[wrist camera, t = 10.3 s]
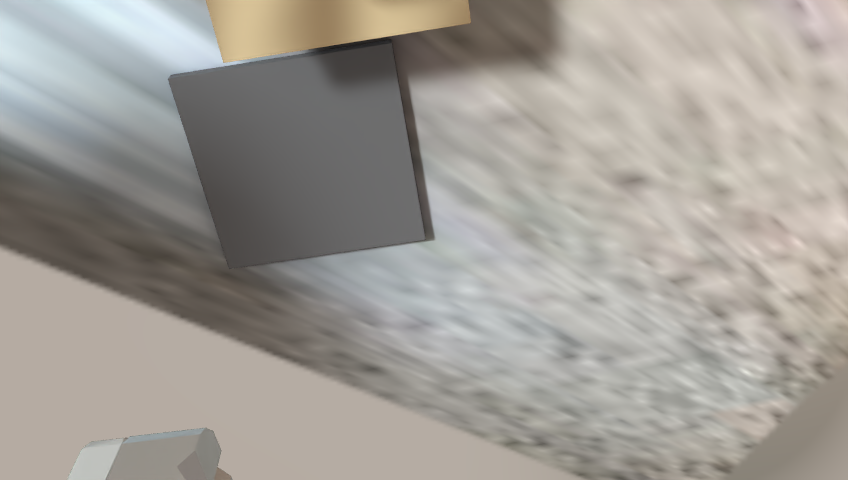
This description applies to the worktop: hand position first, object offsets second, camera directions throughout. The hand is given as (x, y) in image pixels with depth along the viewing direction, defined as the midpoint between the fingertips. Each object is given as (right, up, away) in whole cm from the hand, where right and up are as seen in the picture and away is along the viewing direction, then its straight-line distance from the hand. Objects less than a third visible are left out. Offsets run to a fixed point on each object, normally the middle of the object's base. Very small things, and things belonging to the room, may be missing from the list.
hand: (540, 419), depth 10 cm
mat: (-8, +6, +32) cm, 33 cm away
